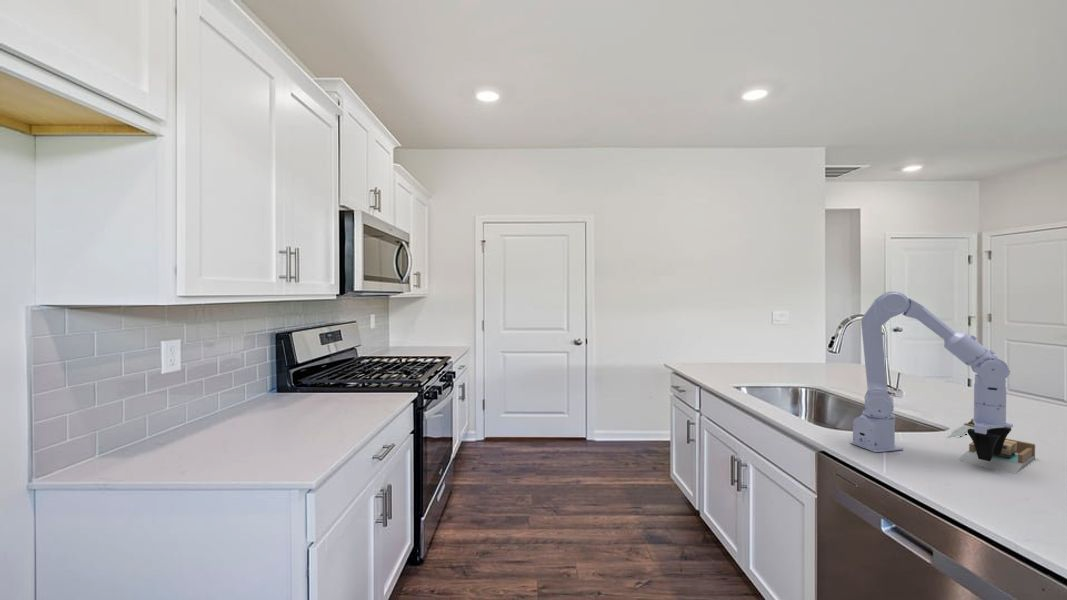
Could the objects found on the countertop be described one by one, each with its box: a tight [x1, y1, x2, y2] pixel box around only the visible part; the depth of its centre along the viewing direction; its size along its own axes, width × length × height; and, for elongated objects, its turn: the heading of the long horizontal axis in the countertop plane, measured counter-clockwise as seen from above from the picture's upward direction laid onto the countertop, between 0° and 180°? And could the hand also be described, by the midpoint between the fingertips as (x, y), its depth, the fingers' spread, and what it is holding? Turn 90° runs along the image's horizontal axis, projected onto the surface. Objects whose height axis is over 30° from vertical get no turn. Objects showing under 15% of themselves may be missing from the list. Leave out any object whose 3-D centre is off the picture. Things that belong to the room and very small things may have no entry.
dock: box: [957, 438, 1036, 475], centre depth 116 cm, size 18×10×5 cm, turn 121°
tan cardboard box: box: [993, 440, 1017, 459], centre depth 117 cm, size 6×5×3 cm
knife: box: [947, 418, 975, 439], centre depth 139 cm, size 27×2×5 cm
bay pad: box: [975, 452, 1018, 462], centre depth 117 cm, size 7×8×1 cm
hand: (989, 456), depth 113 cm, fingers open, 7 cm apart
